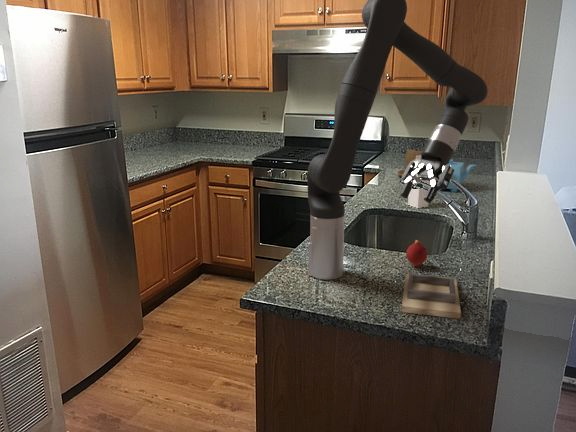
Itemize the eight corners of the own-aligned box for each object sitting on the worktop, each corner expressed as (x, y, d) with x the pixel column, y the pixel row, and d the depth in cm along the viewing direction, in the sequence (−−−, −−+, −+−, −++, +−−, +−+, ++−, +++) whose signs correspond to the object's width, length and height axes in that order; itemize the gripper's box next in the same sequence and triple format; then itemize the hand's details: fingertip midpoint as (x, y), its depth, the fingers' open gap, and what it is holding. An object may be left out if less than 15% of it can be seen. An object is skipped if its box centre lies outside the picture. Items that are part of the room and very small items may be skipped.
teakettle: (451, 184, 246) (453, 155, 242) (476, 191, 229) (479, 161, 225) (419, 187, 240) (421, 158, 236) (443, 195, 223) (445, 163, 219)
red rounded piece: (422, 262, 142) (424, 236, 140) (429, 269, 136) (431, 243, 134) (403, 262, 142) (404, 237, 140) (408, 270, 136) (410, 243, 134)
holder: (401, 311, 112) (402, 298, 111) (405, 278, 130) (406, 266, 129) (460, 318, 109) (461, 304, 108) (455, 283, 127) (456, 271, 126)
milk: (407, 205, 205) (410, 154, 199) (418, 203, 208) (421, 153, 202) (418, 208, 200) (421, 156, 194) (428, 206, 203) (432, 155, 197)
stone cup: (424, 175, 270) (426, 148, 266) (426, 179, 258) (428, 151, 254) (396, 174, 272) (398, 148, 268) (397, 178, 261) (399, 151, 257)
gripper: (413, 137, 131) (387, 189, 129) (454, 139, 119) (426, 196, 117) (429, 151, 135) (404, 202, 133) (471, 154, 123) (444, 209, 121)
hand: (414, 199), depth 125 cm, fingers open, 8 cm apart
